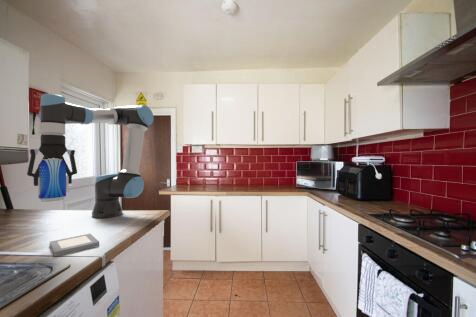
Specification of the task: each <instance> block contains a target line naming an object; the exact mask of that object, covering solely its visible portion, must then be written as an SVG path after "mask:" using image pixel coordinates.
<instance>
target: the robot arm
mask: <svg viewBox="0 0 476 317" xmlns="http://www.w3.org/2000/svg"><path fill="white" fill-rule="evenodd" d="M39 107H40V110H39V112H38V118H39V120H40V134H41V135H40V145H39V146H40V147H39V148H35V149H34V148H31V149H30V150H29V154H30V159H29V164H28V167H27V172H26V175H27V176H28V177H32V178H33V186H34V187H37V196H38V195H40V177H38V176H39V167H38V166H37V169H36V170H35V172H34V166H35V162H36V156H37V155H39V152H40V153H41V155H42V156H43V157H42V158H41V159H62V160H63V162H64V163H65V164H66V193H69V191H70V190H69V188H70V187H69V185H70V184H72V183H73V178H72V177H73V175H77V174H78V170H77V165H76V158H75V153H76V151H75V150H74V149H68V148H67V147H66V136H65V135H66V125H70V124H73V125H74V124H75V125H76V124H80V125H90V124H108V125H116V126H117V125H118V126H125V127H127V129H128V130H127V131H128V132H127V138H126V144H125V149H124V150H125V151H124V156H123V161H122V167H121V168H122V169H121V170H120V171H119V172H118V173H109V174H101V175H97V176H96V178H95V182H94V183H95V184H94V185H95V202H94V205H93V208H92V212H91V217H92V218H95V219H96V218H97V219H103V218H104V219H105V218H112V217H117V216H121V215H122V214H123V208H122V205H121V201H120V198H123V199H124V198H125V199H130V198H131V199H133V198H134V199H135V198H137V197H139V196H140V195H141V194H142V193H143V191H144V188H145V182H144V179H143V178H142V174H141V173H140V166H141V165H140V163H141V158H142V151H143V145H144V137H145V132H147V131H148V130H149V126H151V125H152V124H153V123H154V113H153V111H152V109H151V108H150V107H149V106H148V105H146V104H145V105H144V104H138V105H124V106H122V105H121V106H117V107H107V108H105V109H104V108H90V107H85V106H81V105H76V104H72V103H68V102H67V101H66V98H65V97H64V95H60V94H55V93H43V94H41V96H40V104H39ZM66 153H67V155H69V161H70V166H71V169H70V168H69V166H68V164H67V162H66V160H65V158H64V155H65V154H66ZM41 161H43V160H41ZM41 161H40V162H41Z"/></svg>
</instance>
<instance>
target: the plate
mask: <svg viewBox="0 0 476 317" xmlns="http://www.w3.org/2000/svg"><path fill="white" fill-rule="evenodd" d="M49 247H50V249H51V252H52V253H53V255H54V257H59V256H62V255H66V254H71V253H74V252H75V253H76V252H79V251H83V250H87V249H92V248H96V247H100V241H99V240H98V239H97V238H96V237H94V236H93V235H92V234H91V233H86V234H80V235H76V236H75V235H74V236H72V237H71V236H70V237H65V238H61V239H56V240H51V241H49Z"/></svg>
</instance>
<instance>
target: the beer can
mask: <svg viewBox="0 0 476 317" xmlns="http://www.w3.org/2000/svg"><path fill="white" fill-rule="evenodd" d="M41 160H43V161H39V164H38V165H37V168H38V167H39V176H38V177H40V195H38V194H37V198H38V199H39V200H40V202H43V203H44V202H45V203H47V202H48V203H51V202H59V201H63V200H64V199H65V198H66V196H67V192H66V176H67V173H66V164H67V163H66V164H65V163H64V162H63V160H62V159H55V158H52V159H42V158H41Z"/></svg>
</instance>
